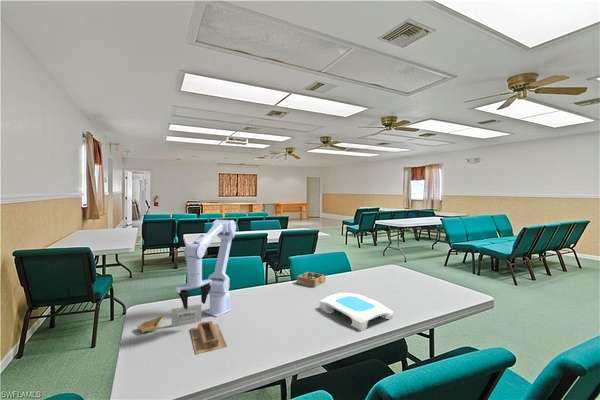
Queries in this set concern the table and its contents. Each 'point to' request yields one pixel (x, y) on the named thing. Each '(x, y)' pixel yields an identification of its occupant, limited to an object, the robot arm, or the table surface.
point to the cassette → (186, 319)
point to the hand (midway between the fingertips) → (194, 305)
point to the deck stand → (310, 279)
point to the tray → (207, 337)
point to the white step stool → (355, 308)
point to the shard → (149, 325)
